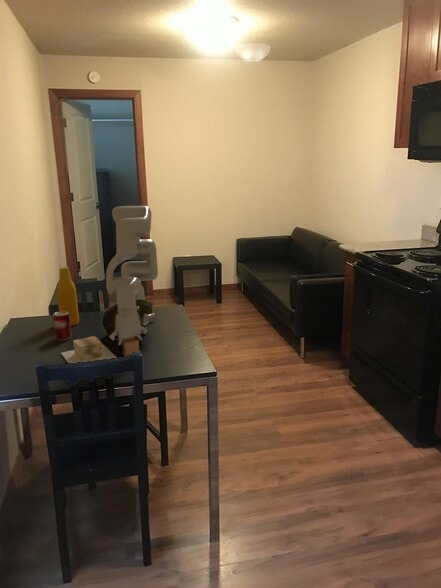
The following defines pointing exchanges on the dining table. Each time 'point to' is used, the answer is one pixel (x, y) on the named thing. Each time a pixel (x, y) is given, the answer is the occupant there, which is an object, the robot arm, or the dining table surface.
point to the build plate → (72, 358)
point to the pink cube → (130, 345)
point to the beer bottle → (67, 295)
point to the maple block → (87, 348)
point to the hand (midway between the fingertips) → (129, 350)
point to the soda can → (62, 325)
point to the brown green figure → (112, 311)
